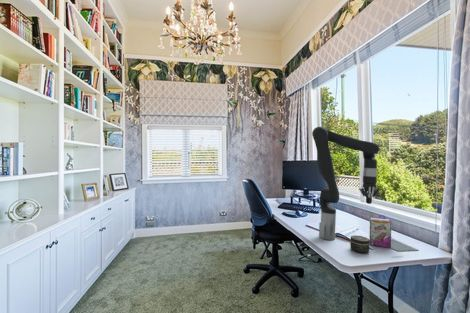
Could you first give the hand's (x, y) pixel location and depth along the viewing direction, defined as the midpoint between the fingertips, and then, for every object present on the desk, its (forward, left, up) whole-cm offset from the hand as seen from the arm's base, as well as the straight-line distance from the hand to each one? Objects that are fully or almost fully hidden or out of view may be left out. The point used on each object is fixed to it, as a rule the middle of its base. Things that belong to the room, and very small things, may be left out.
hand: (368, 203), depth 144 cm
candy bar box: (+9, 0, -26) cm, 28 cm away
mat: (+20, 0, -26) cm, 33 cm away
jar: (-10, -6, -27) cm, 29 cm away
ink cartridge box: (+25, +16, -27) cm, 40 cm away
